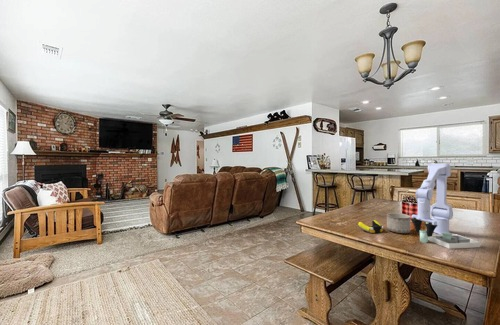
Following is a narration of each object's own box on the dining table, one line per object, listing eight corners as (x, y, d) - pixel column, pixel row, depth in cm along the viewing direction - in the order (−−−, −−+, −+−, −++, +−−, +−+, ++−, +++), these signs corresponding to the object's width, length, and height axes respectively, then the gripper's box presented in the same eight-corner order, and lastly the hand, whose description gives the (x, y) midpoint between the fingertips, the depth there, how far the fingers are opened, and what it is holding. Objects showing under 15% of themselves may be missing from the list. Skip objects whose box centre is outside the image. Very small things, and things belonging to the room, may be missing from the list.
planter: (389, 233, 141) (389, 217, 141) (385, 227, 153) (385, 212, 153) (413, 235, 137) (413, 218, 136) (407, 229, 148) (407, 213, 148)
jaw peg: (417, 240, 129) (417, 230, 129) (423, 240, 129) (424, 229, 129) (423, 243, 125) (423, 232, 125) (429, 242, 125) (429, 232, 125)
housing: (449, 248, 117) (449, 238, 117) (427, 239, 130) (427, 230, 130) (480, 247, 118) (480, 236, 118) (455, 238, 131) (455, 228, 131)
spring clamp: (356, 229, 149) (368, 234, 140) (356, 221, 149) (368, 225, 140) (374, 227, 154) (387, 232, 144) (374, 219, 154) (387, 223, 144)
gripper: (407, 207, 133) (407, 230, 134) (428, 213, 119) (428, 238, 119) (418, 207, 134) (418, 229, 134) (440, 213, 120) (440, 238, 120)
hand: (423, 234), depth 127 cm, fingers open, 7 cm apart
